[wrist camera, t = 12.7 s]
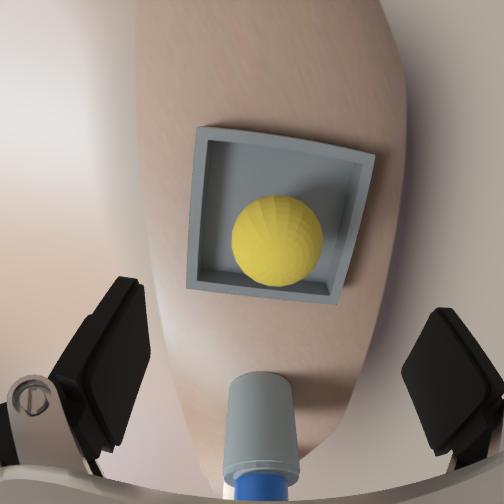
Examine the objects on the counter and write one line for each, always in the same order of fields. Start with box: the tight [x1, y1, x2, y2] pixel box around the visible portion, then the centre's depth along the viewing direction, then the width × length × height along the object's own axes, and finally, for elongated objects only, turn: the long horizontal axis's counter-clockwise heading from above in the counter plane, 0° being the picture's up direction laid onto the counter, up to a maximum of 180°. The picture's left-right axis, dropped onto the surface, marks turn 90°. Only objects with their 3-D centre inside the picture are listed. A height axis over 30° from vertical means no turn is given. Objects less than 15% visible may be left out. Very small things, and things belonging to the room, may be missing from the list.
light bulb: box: [232, 195, 323, 287], centre depth 24 cm, size 7×7×10 cm
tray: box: [186, 126, 376, 305], centre depth 28 cm, size 15×15×4 cm
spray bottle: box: [223, 372, 300, 501], centre depth 29 cm, size 9×9×25 cm
